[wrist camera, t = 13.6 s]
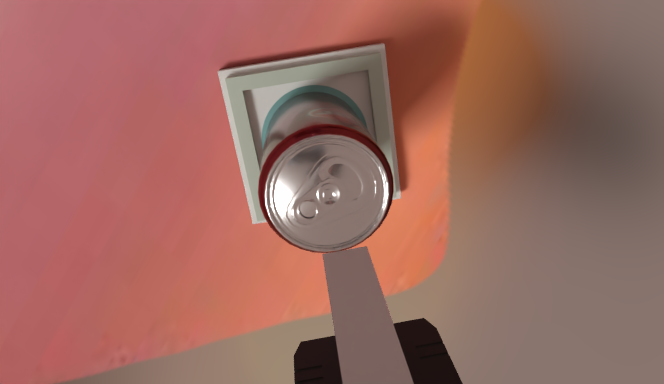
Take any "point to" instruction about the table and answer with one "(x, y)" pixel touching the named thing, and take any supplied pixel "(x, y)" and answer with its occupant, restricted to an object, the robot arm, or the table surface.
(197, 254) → the table surface
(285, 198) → the soda can
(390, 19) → the table surface
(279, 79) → the base plate
